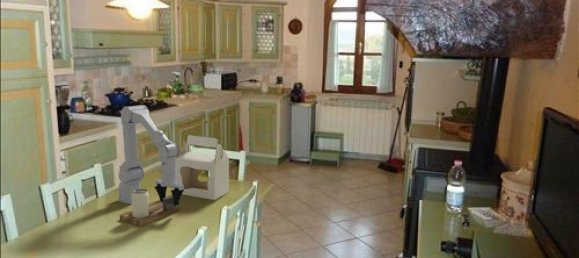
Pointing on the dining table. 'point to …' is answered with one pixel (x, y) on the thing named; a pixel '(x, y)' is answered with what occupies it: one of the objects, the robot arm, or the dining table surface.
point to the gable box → (212, 163)
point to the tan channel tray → (152, 212)
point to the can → (140, 203)
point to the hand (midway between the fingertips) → (169, 203)
